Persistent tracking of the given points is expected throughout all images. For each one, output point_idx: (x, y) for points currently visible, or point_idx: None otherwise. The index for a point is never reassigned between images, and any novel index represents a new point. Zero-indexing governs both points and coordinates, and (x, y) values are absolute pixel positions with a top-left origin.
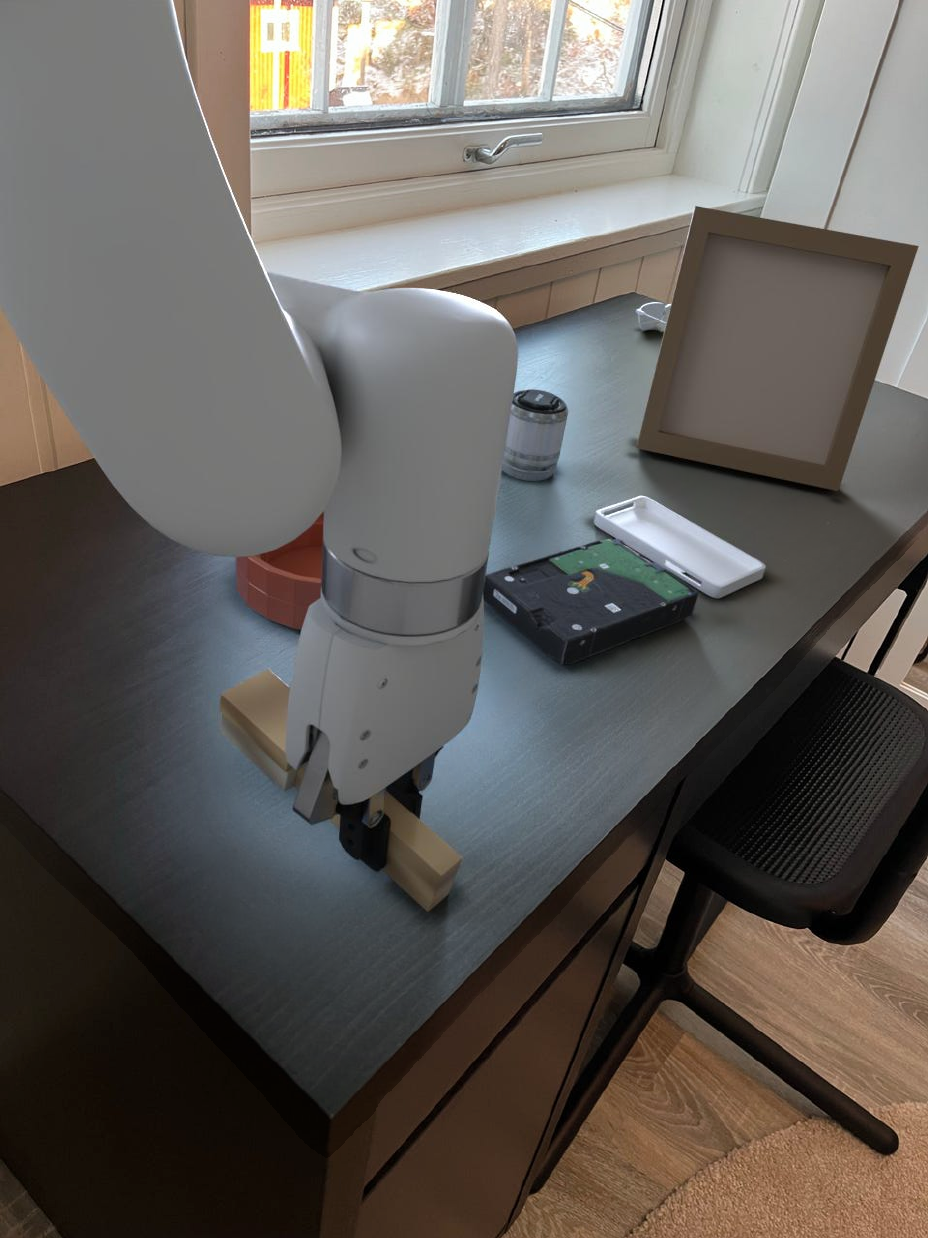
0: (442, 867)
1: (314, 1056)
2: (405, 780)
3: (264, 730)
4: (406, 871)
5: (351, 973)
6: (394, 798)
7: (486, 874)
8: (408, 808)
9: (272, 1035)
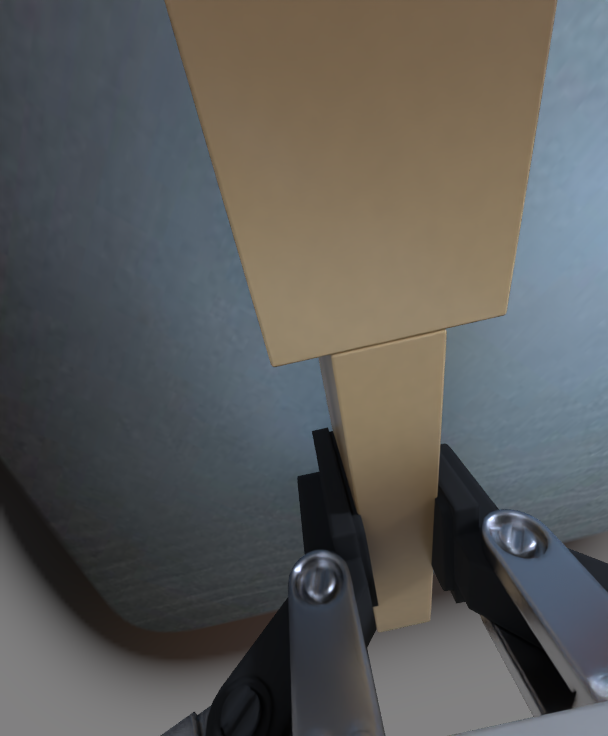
0: (391, 625)
1: (139, 608)
2: (478, 607)
3: (235, 204)
4: None
5: (221, 558)
6: (432, 538)
7: None
8: (434, 565)
9: (102, 581)
